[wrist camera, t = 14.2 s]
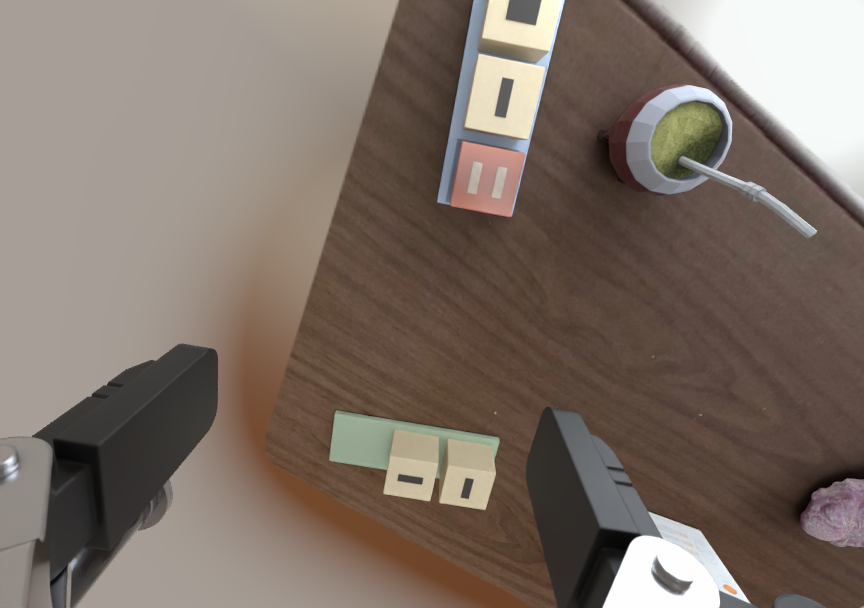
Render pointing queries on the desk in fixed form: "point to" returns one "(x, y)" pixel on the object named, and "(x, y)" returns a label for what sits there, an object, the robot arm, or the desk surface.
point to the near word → (501, 78)
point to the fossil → (837, 514)
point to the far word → (418, 457)
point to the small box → (698, 552)
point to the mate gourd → (681, 147)
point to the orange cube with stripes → (486, 178)
